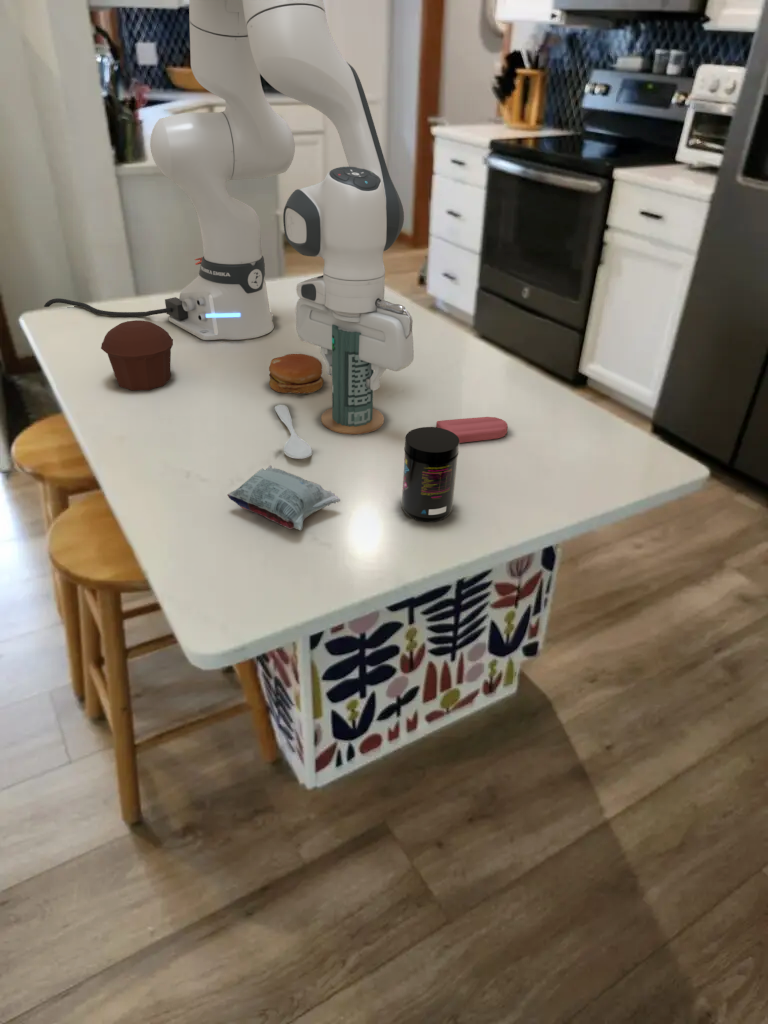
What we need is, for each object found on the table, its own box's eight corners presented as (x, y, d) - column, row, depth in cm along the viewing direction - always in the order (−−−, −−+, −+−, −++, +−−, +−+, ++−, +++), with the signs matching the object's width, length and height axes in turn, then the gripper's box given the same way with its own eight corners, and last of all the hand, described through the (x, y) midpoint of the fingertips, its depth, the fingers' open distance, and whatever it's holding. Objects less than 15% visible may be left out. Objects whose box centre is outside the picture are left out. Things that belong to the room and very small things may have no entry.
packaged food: (272, 482, 102) (270, 451, 99) (341, 512, 96) (341, 479, 93) (226, 510, 96) (223, 478, 93) (297, 544, 90) (295, 510, 87)
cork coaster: (308, 421, 118) (308, 418, 117) (348, 401, 124) (348, 398, 124) (357, 440, 113) (357, 438, 112) (396, 418, 119) (396, 416, 119)
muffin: (170, 363, 135) (163, 309, 130) (185, 387, 127) (178, 330, 121) (102, 373, 130) (91, 317, 125) (113, 398, 122) (102, 339, 117)
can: (361, 406, 122) (363, 317, 113) (377, 422, 117) (381, 330, 109) (327, 413, 119) (326, 322, 111) (342, 429, 115) (343, 335, 107)
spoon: (288, 468, 105) (287, 458, 104) (267, 406, 121) (266, 397, 121) (316, 465, 106) (316, 455, 105) (292, 404, 122) (292, 395, 122)
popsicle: (410, 422, 115) (500, 414, 118) (409, 431, 116) (498, 423, 119) (420, 438, 111) (513, 429, 114) (419, 447, 111) (512, 438, 115)
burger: (329, 393, 127) (329, 367, 124) (276, 399, 124) (274, 373, 121) (315, 371, 134) (314, 346, 132) (264, 376, 132) (262, 351, 129)
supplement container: (435, 491, 101) (441, 422, 95) (462, 516, 96) (470, 445, 90) (391, 503, 98) (395, 432, 93) (417, 529, 93) (422, 457, 88)
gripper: (425, 303, 104) (419, 393, 112) (316, 274, 114) (317, 359, 122) (399, 313, 100) (394, 407, 108) (287, 282, 110) (291, 370, 118)
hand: (352, 381), depth 115 cm, fingers closed on can, 6 cm apart
